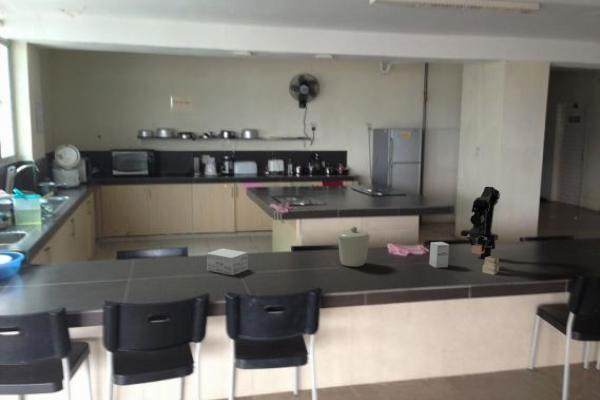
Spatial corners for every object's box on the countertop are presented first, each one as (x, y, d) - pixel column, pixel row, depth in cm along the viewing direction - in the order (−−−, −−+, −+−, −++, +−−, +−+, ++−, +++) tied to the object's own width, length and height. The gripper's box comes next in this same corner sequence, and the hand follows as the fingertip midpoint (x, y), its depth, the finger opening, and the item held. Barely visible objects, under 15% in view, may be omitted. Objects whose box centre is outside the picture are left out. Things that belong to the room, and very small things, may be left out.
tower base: (487, 270, 273) (487, 262, 273) (498, 272, 269) (499, 265, 269) (482, 272, 269) (482, 265, 268) (493, 275, 265) (494, 267, 264)
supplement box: (436, 268, 275) (437, 245, 273) (429, 264, 282) (430, 241, 280) (448, 267, 277) (449, 244, 275) (441, 263, 284) (442, 241, 282)
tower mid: (489, 263, 272) (489, 256, 271) (498, 265, 268) (498, 257, 268) (484, 265, 269) (484, 257, 268) (493, 267, 265) (494, 259, 264)
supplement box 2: (248, 269, 267) (248, 252, 266) (232, 275, 256) (232, 257, 255) (222, 264, 276) (222, 247, 274) (206, 270, 264) (206, 252, 263)
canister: (368, 270, 269) (369, 230, 266) (333, 267, 272) (334, 228, 269) (370, 261, 286) (371, 224, 283) (338, 259, 290) (339, 222, 287)
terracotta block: (475, 251, 282) (476, 243, 282) (484, 252, 279) (484, 245, 278) (471, 252, 279) (471, 245, 278) (480, 254, 275) (480, 246, 275)
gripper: (456, 221, 277) (455, 250, 279) (490, 226, 264) (488, 256, 267) (466, 219, 285) (464, 246, 287) (499, 224, 272) (497, 252, 275)
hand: (478, 250), depth 279 cm, fingers closed on terracotta block, 5 cm apart
